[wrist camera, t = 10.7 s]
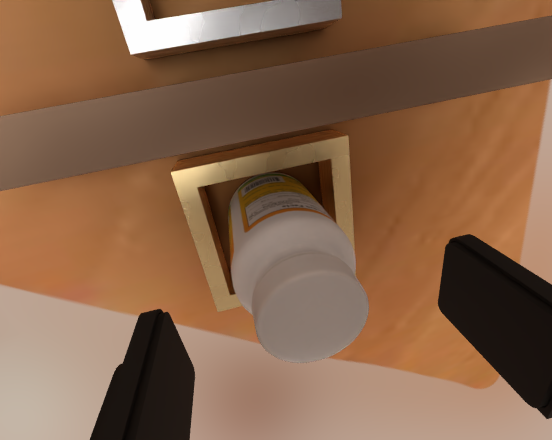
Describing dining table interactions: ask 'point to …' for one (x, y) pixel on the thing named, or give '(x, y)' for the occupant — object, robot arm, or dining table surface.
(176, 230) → the dining table surface
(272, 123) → the brown wooden plank
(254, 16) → the double square frame
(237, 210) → the supplement bottle
